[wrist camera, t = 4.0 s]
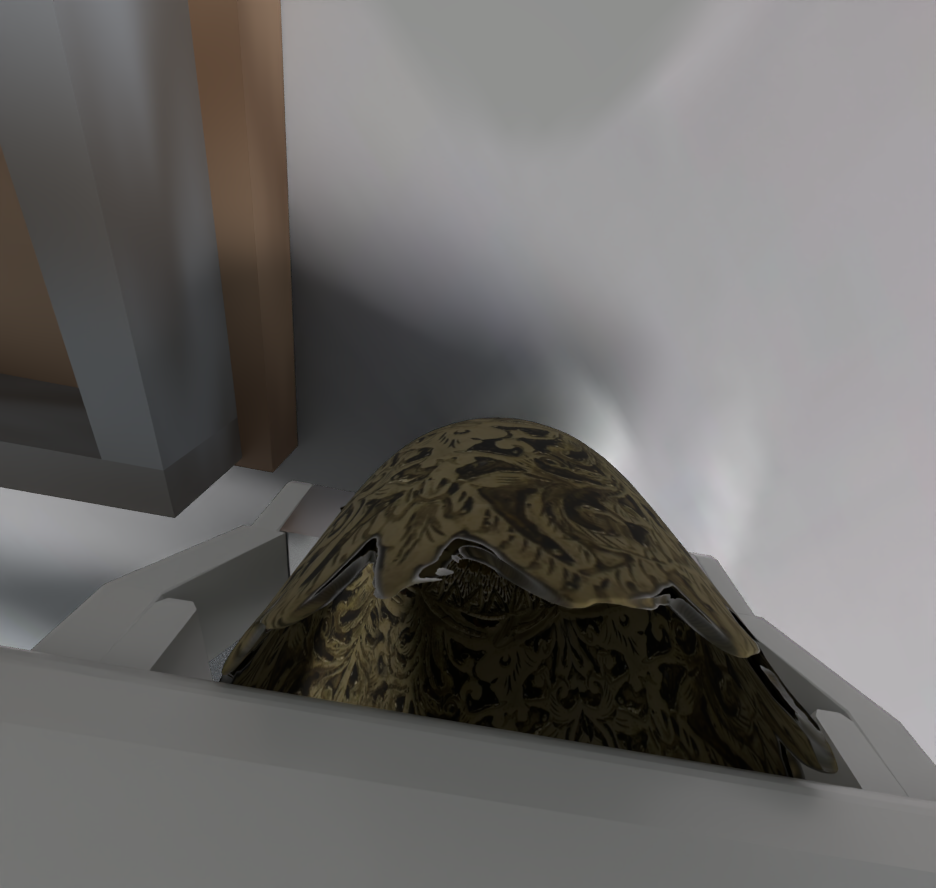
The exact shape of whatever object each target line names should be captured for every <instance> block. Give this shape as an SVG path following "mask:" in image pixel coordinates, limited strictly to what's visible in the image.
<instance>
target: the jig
mask: <svg viewBox="0 0 936 888" xmlns="http://www.w3.org/2000/svg"><path fill="white" fill-rule="evenodd" d="M297 446H298V441H297V415H296V390H295V364H294V338H293V312H292V287H291V261H290V235H289V209H288V184H287V158H286V132H285V106H284V81H283V55H282V29H281V3H280V0H0V487H3V488H9V489H14V490H20V491H26V492H31V493H37V494H43V495H48V496H54V497H59V498H65V499H71V500H76V501H82V502H88V503H93V504H99V505H105V506H110V507H116V508H122V509H127V510H133V511H138V512H144V513H150V514H155V515H161V516H167V517H172V518H175V517H176V516H178V515H179V514H180V513H181V512H182V511H183V510H184V509H185V508H187V507H188V506H189V505H190V504H191V503H192V502H193V501H194V500H195V499H197V498H198V497H199V496H200V495H201V494H202V493H203V492H204V491H206V490H207V489H208V488H209V487H210V486H211V485H212V484H213V483H214V482H216V481H217V480H218V479H219V478H220V477H221V476H222V475H223V474H225V473H226V472H227V471H228V470H229V469H230V468H231V467H232V466H234V465H235V466H240V467H246V468H251V469H257V470H262V471H268V472H274V471H275V470H276V469H277V468H278V467H279V465H280V464H281V463H282V462H283V461H284V460H285V459H286V458H287V457H288V456H289V455H290V454H291V452H292V451H293V450H294V449H295V448H296V447H297Z"/></svg>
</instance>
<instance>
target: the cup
mask: <svg viewBox="0 0 936 888" xmlns="http://www.w3.org/2000/svg"><path fill="white" fill-rule="evenodd" d="M757 642H759V641H758V640H757V639H756V638H755V637H754V636H753V634H752V633H751V632H750V631H749V629H748V628H747V627H746V626H745V624H744V623H743V622H742V620H741V619H740V618H739V617H738V615H737V614H736V613H735V611H734V610H733V609H732V608H731V606H730V605H729V604H728V602H727V601H726V600H725V599H724V597H723V596H722V595H721V594H720V592H719V591H718V590H717V588H716V587H715V586H714V585H713V583H712V582H711V581H710V580H709V578H708V577H707V576H706V574H705V573H704V572H703V571H702V569H701V568H700V567H699V566H698V564H697V563H696V562H695V561H694V559H693V558H692V557H691V556H690V554H689V553H688V552H687V550H686V549H685V548H684V547H683V546H682V544H681V543H680V542H679V541H678V539H677V538H676V537H675V536H674V534H673V533H672V532H671V531H670V529H669V528H668V527H667V526H666V524H665V523H664V522H663V521H662V520H661V518H660V517H659V516H658V515H657V513H656V512H655V511H654V510H653V509H652V507H651V506H650V505H649V504H648V503H647V502H646V500H645V499H644V498H643V497H642V496H641V495H640V493H639V492H638V491H637V490H636V489H635V488H634V487H633V485H632V484H631V483H630V482H629V481H628V480H627V479H626V478H625V477H624V476H623V475H622V474H621V473H620V472H619V471H618V470H617V469H616V468H615V467H614V466H613V465H611V464H610V463H609V462H608V461H607V460H606V459H605V458H604V457H602V456H601V455H600V454H598V453H597V452H596V451H594V450H593V449H591V448H590V447H588V446H587V445H586V444H584V443H583V442H581V441H580V440H578V439H576V438H574V437H572V436H570V435H569V434H567V433H564V432H562V431H559V430H557V429H554V428H552V427H549V426H545V425H542V424H538V423H535V422H531V421H526V420H520V419H514V418H499V417H498V418H479V419H472V420H466V421H462V422H458V423H454V424H450V425H447V426H444V427H441V428H439V429H436V430H433V431H431V432H429V433H427V434H425V435H423V436H421V437H419V438H417V439H416V440H414V441H413V442H411V443H409V444H408V445H406V446H405V447H404V448H402V449H401V450H400V451H398V452H397V453H396V454H394V455H393V456H392V457H391V458H390V459H388V460H387V461H386V462H385V463H384V464H383V465H382V466H381V467H380V468H379V469H378V470H377V471H376V472H375V473H374V474H373V475H372V476H371V477H370V478H369V479H368V480H367V481H366V482H365V484H364V485H363V486H362V487H361V488H360V489H359V490H358V491H357V493H356V494H355V495H354V496H353V497H352V498H351V500H350V501H349V502H348V503H347V504H346V506H345V507H344V508H343V509H342V511H341V512H340V513H339V514H338V516H337V517H336V518H335V519H334V521H333V522H332V523H331V524H330V526H329V527H328V528H327V530H326V531H325V532H324V533H323V535H322V536H321V537H320V538H319V540H318V541H317V542H316V544H315V545H314V546H313V547H312V549H311V550H310V551H309V553H308V554H307V555H306V556H305V558H304V559H303V560H302V562H301V563H300V564H299V566H298V567H297V568H296V569H295V571H294V572H293V573H292V575H291V576H290V577H289V579H288V580H287V581H286V582H285V584H284V585H283V586H282V588H281V589H280V590H279V592H278V593H277V594H276V595H275V597H274V598H273V599H272V601H271V602H270V603H269V605H268V606H267V607H266V609H265V610H264V611H263V612H262V613H261V615H260V616H259V617H258V618H257V619H256V620H255V621H254V623H253V624H252V625H251V626H250V627H249V628H248V630H247V631H246V632H245V633H244V635H243V636H242V638H241V639H240V640H239V642H238V643H237V645H236V646H235V647H234V649H233V650H232V652H231V653H230V655H229V656H228V658H227V660H226V661H225V663H224V666H223V669H222V677H221V679H220V681H219V682H222V683H228V684H234V685H240V686H246V687H252V688H258V689H264V690H270V691H276V692H282V693H288V694H294V695H300V696H306V697H312V698H318V699H324V700H330V701H336V702H342V703H348V704H354V705H360V706H366V707H372V708H378V709H384V710H390V711H396V712H402V713H408V714H414V715H420V716H426V717H432V718H438V719H444V720H450V721H456V722H462V723H468V724H474V725H480V726H486V727H492V728H498V729H504V730H510V731H515V732H521V733H527V734H533V735H539V736H545V737H551V738H557V739H563V740H569V741H575V742H582V743H588V744H594V745H600V746H606V747H612V748H618V749H624V750H630V751H636V752H642V753H648V754H654V755H660V756H666V757H672V758H678V759H684V760H690V761H696V762H702V763H708V764H714V765H720V766H726V767H732V768H738V769H744V770H750V771H756V772H762V773H768V774H774V775H780V776H786V777H792V778H798V779H804V780H806V779H805V775H804V772H803V769H802V765H801V763H802V764H803V765H805V766H807V767H809V768H811V769H813V770H815V771H818V772H820V773H826V774H835V773H837V772H838V766H837V762H836V759H835V756H834V754H833V752H832V749H831V747H830V745H829V744H828V742H827V740H826V739H825V737H824V735H823V733H822V732H821V730H820V728H819V726H818V724H817V723H816V722H815V721H814V720H813V718H812V717H811V716H810V715H809V713H808V712H807V711H806V710H805V709H804V708H803V706H802V705H801V704H800V703H799V702H798V701H797V700H796V698H795V697H794V696H793V695H792V694H791V693H790V691H789V690H788V689H787V688H786V686H785V685H784V683H783V682H782V681H781V679H780V678H779V676H778V675H777V673H776V672H775V671H774V669H773V668H772V666H771V665H770V664H769V662H768V661H767V659H766V658H765V656H764V654H763V652H762V650H761V649H760V647H759V645H758V643H757Z"/></svg>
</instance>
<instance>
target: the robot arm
mask: <svg viewBox="0 0 936 888" xmlns="http://www.w3.org/2000/svg"><path fill="white" fill-rule="evenodd" d="M355 494H356V492H351V491H346V490H341V489H336V488H331V487H326V486H321V485H316V484H315V485H314V484H310V483H305V482H300V481H295V480H293V481H290V482H288V483H287V484H286V485H285V486H284V487H283V489H282V490H281V491H280V492H279V493H278V494H277V496H276V497H275V498H274V499H273V500H272V502H271V503H270V504H269V505H268V506H267V508H266V509H265V510H264V511H263V512H262V514H261V515H260V516H259V517H258V518H257V519H256V521H255V522H254V523H253V524H252V525H251V526H245V525H243V526H241V527H238V528H236V529H234V530H231V531H229V532H226V533H224V534H222V535H219V536H217V537H215V538H212V539H210V540H208V541H205V542H203V543H200V544H198V545H196V546H193V547H191V548H189V549H186V550H184V551H181V552H179V553H177V554H174V555H172V556H170V557H167V558H165V559H162V560H160V561H158V562H155V563H153V564H151V565H148V566H146V567H144V568H141V569H139V570H136V571H134V572H132V573H129V574H127V575H125V576H122V577H120V578H117V579H115V580H113V581H110V582H108V583H106V584H104V585H103V586H102V587H100V588H99V589H98V590H97V591H96V592H95V593H94V594H93V595H92V596H90V597H89V598H88V599H87V600H86V601H85V602H84V603H83V604H81V605H80V606H79V607H78V608H77V609H76V610H75V611H74V612H73V613H71V614H70V615H69V616H68V617H67V618H66V619H65V620H64V621H63V622H61V623H60V624H59V625H58V626H57V627H56V628H55V629H54V630H52V631H51V632H50V633H49V634H48V635H47V636H46V637H45V638H44V639H42V640H41V641H40V642H39V643H38V644H37V645H36V646H35V647H33V648H32V649H31V650H25V649H19V648H13V647H7V646H1V645H0V888H936V765H935V764H934V763H933V762H932V760H931V759H930V758H929V757H928V756H927V754H926V753H925V752H924V751H923V749H922V748H921V747H920V746H919V745H918V743H917V742H916V741H915V740H914V738H913V737H912V736H911V735H910V734H909V732H908V731H907V730H906V729H905V727H904V726H903V725H902V724H901V723H900V721H898V720H897V719H896V718H894V717H893V716H892V715H890V714H889V713H888V712H886V711H885V710H884V709H882V708H881V707H880V706H878V705H877V704H876V703H874V702H873V701H872V700H871V699H869V698H868V697H867V696H865V695H864V694H863V693H861V692H860V691H859V690H857V689H856V688H855V687H853V686H852V685H851V684H849V683H848V682H847V681H845V680H844V679H843V678H842V677H840V676H839V675H838V674H836V673H835V672H834V671H832V670H831V669H830V668H828V667H827V666H826V665H824V664H823V663H822V662H820V661H819V660H818V659H816V658H815V657H814V656H813V655H811V654H810V653H809V652H807V651H806V650H805V649H803V648H802V647H801V646H799V645H798V644H797V643H795V642H794V641H793V640H791V639H790V638H789V637H787V636H786V635H785V634H784V633H782V632H781V631H780V630H778V629H777V628H776V627H774V626H773V625H772V624H770V623H769V622H768V621H766V620H765V619H764V618H762V617H758V616H755V615H754V614H753V612H752V611H751V609H750V608H749V606H748V605H747V603H746V602H745V600H744V599H743V597H742V596H741V594H740V593H739V592H738V590H737V589H736V587H735V586H734V584H733V583H732V581H731V580H730V578H729V577H728V575H727V574H726V572H725V571H724V569H723V568H722V566H721V565H720V563H719V562H718V560H716V559H715V558H714V557H712V556H710V555H704V554H697V553H691V552H688V553H689V554H690V556H691V557H692V558H693V559H694V561H695V562H696V563H697V564H698V566H699V567H700V568H701V569H702V571H703V572H704V573H705V574H706V576H707V577H708V578H709V580H710V581H711V582H712V583H713V585H714V586H715V587H716V588H717V590H718V591H719V592H720V594H721V595H722V596H723V597H724V599H725V600H726V601H727V602H728V604H729V605H730V606H731V608H732V609H733V610H734V611H735V613H736V614H737V615H738V617H739V618H740V619H741V620H742V622H743V623H744V624H745V626H746V627H747V628H748V629H749V631H750V632H751V633H752V634H753V636H754V637H755V638H756V639H757V640H758V641H759V642H757V643H758V645H759V647H760V649H761V650H762V652H763V654H764V656H765V658H766V659H767V661H768V662H769V664H770V665H771V666H772V668H773V669H774V671H775V672H776V673H777V675H778V676H779V678H780V679H781V681H782V682H783V683H784V685H785V686H786V688H787V689H788V690H789V691H790V693H791V694H792V695H793V696H794V697H795V698H796V700H797V701H798V702H799V703H800V704H801V705H802V706H803V708H804V709H805V710H806V711H807V712H808V713H809V715H810V716H811V717H812V718H813V720H814V721H815V722H816V723H817V724H818V726H819V728H820V730H821V732H822V733H823V735H824V737H825V739H826V740H827V742H828V744H829V745H830V747H831V749H832V752H833V754H834V756H835V759H836V762H837V766H838V772H837V773H835V774H826V773H820V772H818V771H815V770H813V769H811V768H809V767H807V766H805V765H803V764H802V763H801V765H802V769H803V772H804V775H805V779H806V780H804V779H798V778H792V777H786V776H780V775H774V774H768V773H762V772H756V771H750V770H744V769H738V768H732V767H726V766H720V765H714V764H708V763H702V762H696V761H690V760H684V759H678V758H672V757H666V756H660V755H654V754H648V753H642V752H636V751H630V750H624V749H618V748H612V747H606V746H600V745H594V744H588V743H582V742H575V741H569V740H563V739H557V738H551V737H545V736H539V735H533V734H527V733H521V732H515V731H510V730H504V729H498V728H492V727H486V726H480V725H474V724H468V723H462V722H456V721H450V720H444V719H438V718H432V717H426V716H420V715H414V714H408V713H402V712H396V711H390V710H384V709H378V708H372V707H366V706H360V705H354V704H348V703H342V702H336V701H330V700H324V699H318V698H312V697H306V696H300V695H294V694H288V693H282V692H276V691H270V690H264V689H258V688H252V687H246V686H240V685H234V684H228V683H222V682H216V681H213V678H212V674H211V670H210V665H209V662H210V661H211V660H213V659H214V658H215V657H217V656H218V655H219V654H221V653H222V652H223V651H225V650H226V649H227V648H229V647H230V646H231V645H233V644H234V643H235V642H237V641H238V640H239V639H241V638H242V636H243V635H244V633H245V632H246V631H247V630H248V628H249V627H250V626H251V625H252V624H253V623H254V621H255V620H256V619H257V618H258V617H259V616H260V615H261V613H262V612H263V611H264V610H265V609H266V607H267V606H268V605H269V603H270V602H271V601H272V599H273V598H274V597H275V595H276V594H277V593H278V592H279V590H280V589H281V588H282V586H283V585H284V584H285V582H286V581H287V580H288V579H289V577H290V576H291V575H292V573H293V572H294V571H295V569H296V568H297V567H298V566H299V564H300V563H301V562H302V560H303V559H304V558H305V556H306V555H307V554H308V553H309V551H310V550H311V549H312V547H313V546H314V545H315V544H316V542H317V541H318V540H319V538H320V537H321V536H322V535H323V533H324V532H325V531H326V530H327V528H328V527H329V526H330V524H331V523H332V522H333V521H334V519H335V518H336V517H337V516H338V514H339V513H340V512H341V511H342V509H343V508H344V507H345V506H346V504H347V503H348V502H349V501H350V500H351V498H352V497H353V496H354V495H355Z"/></svg>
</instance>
